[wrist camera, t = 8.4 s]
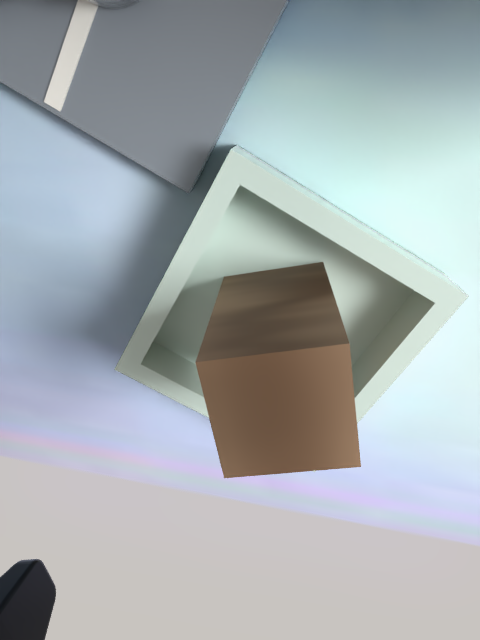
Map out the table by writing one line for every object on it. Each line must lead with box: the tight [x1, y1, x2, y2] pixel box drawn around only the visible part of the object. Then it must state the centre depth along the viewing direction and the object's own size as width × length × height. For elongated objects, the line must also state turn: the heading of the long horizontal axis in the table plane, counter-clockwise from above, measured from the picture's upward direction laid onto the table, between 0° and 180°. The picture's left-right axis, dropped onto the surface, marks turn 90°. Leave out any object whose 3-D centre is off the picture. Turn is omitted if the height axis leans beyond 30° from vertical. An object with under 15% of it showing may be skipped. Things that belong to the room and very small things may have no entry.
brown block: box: [195, 262, 361, 478], centre depth 15 cm, size 4×4×7 cm
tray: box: [114, 145, 469, 472], centre depth 18 cm, size 10×10×2 cm
